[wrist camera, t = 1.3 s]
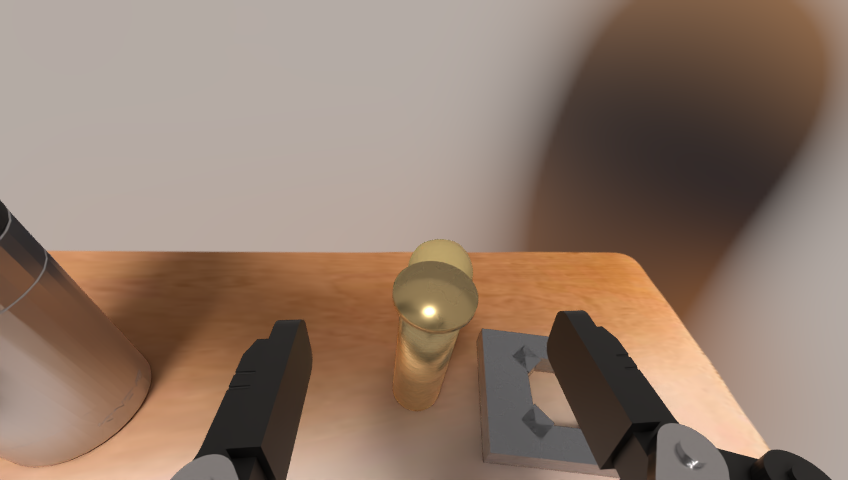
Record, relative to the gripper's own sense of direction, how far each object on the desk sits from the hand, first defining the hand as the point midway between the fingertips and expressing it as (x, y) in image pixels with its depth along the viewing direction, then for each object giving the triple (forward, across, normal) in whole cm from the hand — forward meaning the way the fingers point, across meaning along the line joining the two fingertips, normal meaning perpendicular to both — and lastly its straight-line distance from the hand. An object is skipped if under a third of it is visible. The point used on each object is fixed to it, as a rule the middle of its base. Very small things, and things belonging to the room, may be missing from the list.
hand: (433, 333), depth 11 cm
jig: (+10, -13, +21) cm, 27 cm away
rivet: (+11, 0, +20) cm, 23 cm away
